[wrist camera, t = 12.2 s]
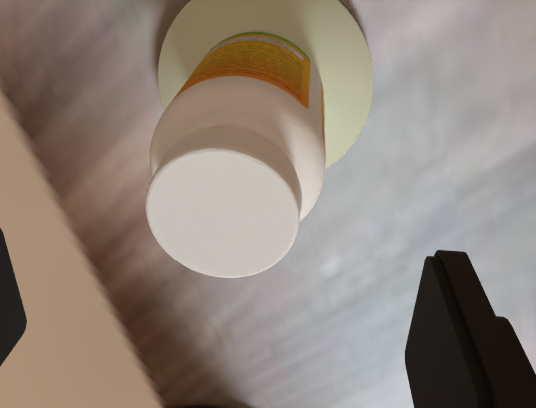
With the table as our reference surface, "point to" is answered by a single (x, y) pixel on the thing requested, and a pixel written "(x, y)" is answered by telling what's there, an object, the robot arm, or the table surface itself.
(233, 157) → the supplement bottle
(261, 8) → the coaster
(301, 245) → the table surface
